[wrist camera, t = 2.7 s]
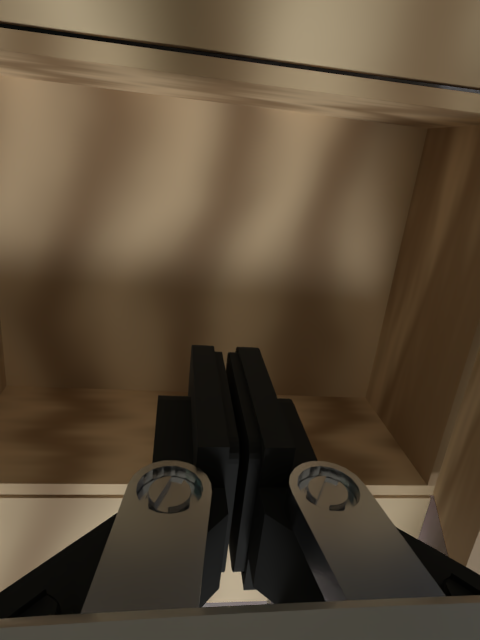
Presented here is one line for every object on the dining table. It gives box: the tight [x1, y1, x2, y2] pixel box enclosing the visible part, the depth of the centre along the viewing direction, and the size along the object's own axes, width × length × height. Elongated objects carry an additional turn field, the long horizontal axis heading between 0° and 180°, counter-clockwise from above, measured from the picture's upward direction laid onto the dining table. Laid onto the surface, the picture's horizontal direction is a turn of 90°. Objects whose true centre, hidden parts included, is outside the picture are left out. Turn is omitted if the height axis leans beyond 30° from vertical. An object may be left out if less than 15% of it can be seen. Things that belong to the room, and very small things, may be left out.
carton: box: [0, 0, 480, 603], centre depth 22 cm, size 24×32×9 cm
